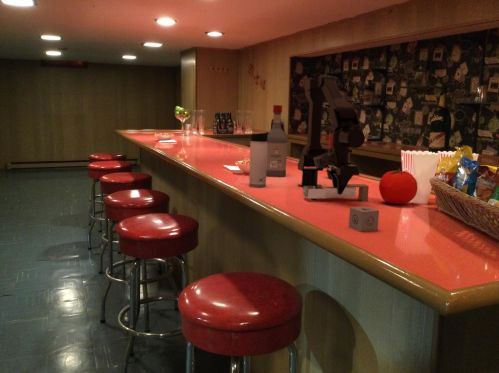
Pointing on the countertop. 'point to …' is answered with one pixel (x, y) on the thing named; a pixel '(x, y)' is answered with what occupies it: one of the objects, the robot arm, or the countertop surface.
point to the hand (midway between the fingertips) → (337, 193)
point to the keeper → (361, 191)
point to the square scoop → (327, 192)
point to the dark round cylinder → (314, 188)
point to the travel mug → (258, 160)
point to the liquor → (276, 147)
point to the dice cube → (363, 219)
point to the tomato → (398, 187)
